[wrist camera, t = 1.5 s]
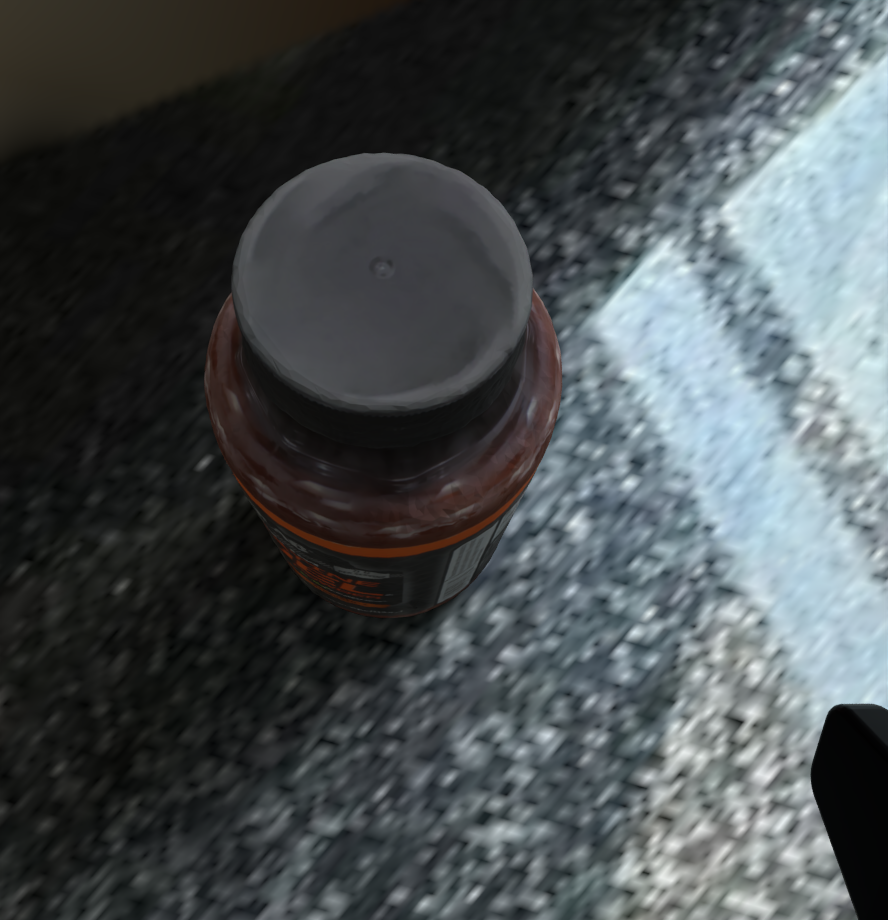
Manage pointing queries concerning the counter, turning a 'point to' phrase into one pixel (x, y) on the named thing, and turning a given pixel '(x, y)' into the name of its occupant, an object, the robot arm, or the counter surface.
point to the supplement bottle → (383, 378)
